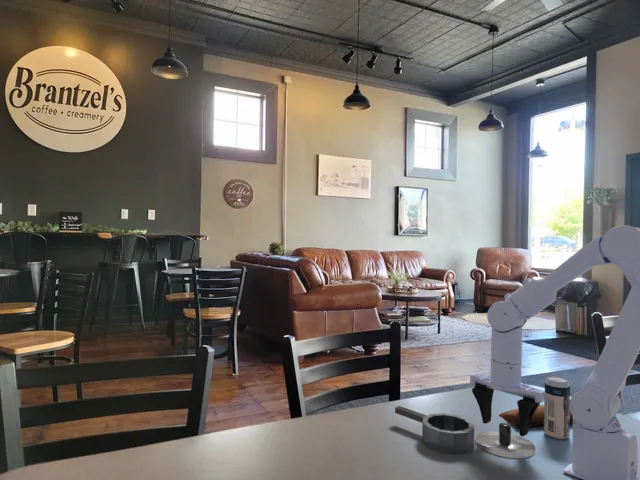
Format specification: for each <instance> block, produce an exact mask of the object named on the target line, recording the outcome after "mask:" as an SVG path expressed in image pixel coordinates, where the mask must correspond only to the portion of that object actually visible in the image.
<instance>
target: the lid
mask: <svg viewBox="0 0 640 480" xmlns="http://www.w3.org/2000/svg"><path fill="white" fill-rule="evenodd" d="M498 425H499V426H498V431H497V430H496V431H494V430H493V431H491V430H490V431H484V432H480V433H477V435H476V436H475V438H474V442H475V444H476V446H478V447H479V449H481V450H483V451H484V452H487V453H489V454H492V455H494V456H498V457H502V458H508V459H527V458H528V459H529V458H531V457H532V456H534V455H535V454H536V452H537V450H536V446H535V444H534V443H533V442H532V441H530V440H528V438H527V439H526V438H525V437H524V436H520V435H517V434H514V433H512V424H510V423H507V422H501V423H500V422H499V424H498Z"/></svg>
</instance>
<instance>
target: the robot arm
mask: <svg viewBox="0 0 640 480" xmlns="http://www.w3.org/2000/svg"><path fill="white" fill-rule="evenodd" d="M610 264H614V265H615V266H616V267H617V268H618V269H620V271H621V272H622V274H623V275H624V277H625V278H626V280H627V281H628V283H629V285H630V287H631V289H630V290H629V292H628V295H627V297H626V299H625V301H624V303H623V306H622V307H621V310H620V311H619V314H618V317H617V319H616V320H615V323H614V326H613V327H612V329H611V332H610V333H609V337H608V338H607V341H606V342H605V345H604V347H603V350H602V351H601V354H600V356H599V358H598V359H597V362H596V365H595V366H594V369H593V370H592V372H591V373H590V375H589V376H588V378H587V379H586V381H585V383H584V385H583V387H582V388H581V389H579V391H577V392H575V393H574V394H572V397H571V396H570V403H569V407H570V411H571V414H572V416H573V423H572V454H571V456H572V458H571V459H572V460H571V461H572V462H571V463H569V464H568V465H567V466H566V467H564V468H563V473H565V474H567V475H570V476H573V477H575V478H578V479H581V480H639V476H638V450H639V449H638V438H637V436H636V435H635V434H634V433H632V432H628V431H626V430H624V429H623V428H621V426H622V425H621V423H620V422H619V418H617V414H619V412H621V410H622V408H623V405H624V404H623V403H624V399H623V391H624V389H625V387H626V383H627V378H628V376H629V374H630V372H631V370H632V368H633V366H634V364H635V362H636V360H637V358H638V355H639V353H640V227H635V226H631V225H618V226H614V227H611V228H610V229H609V230H607V231H606V232H605V233H604V235H600V236H598V237H595V238H593V240H591V241H589V242H588V243H587V244H585V245H584V246H582V247H581V248H580V249H579V250H577V252H575V253H574V254H572V255H571V256H570V257H569V258H568V259H567V260H565V261H564V262H562V263H561V264H560V265H559V266H558V267H556V268H555V269H553V270H552V271H551V272H550V273H549V274H547V275H546V276H545V277H541V276H540V277H539V276H533V277H532V278H531V277H529V278H525V279H523V281H522V282H521V283H522V285H521V286H520V287H519V288H517V289H516V290H515V291H513V292H511V293H506V294H505V295H504V297H503V298H504V301H495V302H493V303H492V305H491V306H489V308H488V310H487V313H486V316H487V322H488V324H489V325H490V327H491V340H490V341H491V343H490V344H491V345H490V375H484V374H481V373H480V374H479V373H472V374H470V379H469V384H470V385H473V386H474V387H473V388H471V392H472V394H473V396H474V398H475V400H476V402H477V405H478V408H479V411H480V416H481V420H482V424H484V425H487V424H488V423H491V421H492V404H493V396H494V391H498V392H502V393H506V394H508V395H513V396H517V397H520V398H521V399H519V400H517V401H516V403H517V409H519V418H520V422H519V427H518V431H519V432H518V433H519V436H521V437H525V436H527V435H528V433H529V430H530V426H529V425H530V422H531V420H532V417H533V415H534V413H535V411H536V409H537V408H538V406H539V405H541V403H543V402H544V401H545V390H542V389H539V388H536V387H533V386H530V385H528V384H525V383H523V382H522V361H523V360H522V359H523V356H522V355H523V354H522V353H523V352H522V351H523V349H522V347H523V327H524V326H525V325H526V323H527V321H528V320H529V319H531V318H533V317H535V315H537V314H539V313H541V311H543V310H544V309H546V308H547V307H549V306H550V305H551V304H553V303H555V302H556V300H557V295H558V294H557V293H558V291H559V290H561V289H562V288H563V287H566V285H568V284H570V283H571V282H573V281H574V280H576V279H578V278H579V277H580V276H582V275H584V274H585V273H586V272H588V271H590V270H592V269H593V268H594V267H599V266H604V265H610Z"/></svg>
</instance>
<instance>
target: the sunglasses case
mask: <svg viewBox="0 0 640 480" xmlns="http://www.w3.org/2000/svg"><path fill="white" fill-rule="evenodd" d="M498 416H499V417H500V418H502V419H503V420H505V421H506V423H507V422H508V424H510V425H511V426H513V427H515V429H518V428H519V422H520V418H519V409H518V408H515V409H511V410H507V411H504V412H501V413H499V414H498ZM571 423H572V424H573V416H572V414H571V411H570V424H571ZM542 425H544V404H542V405H541V404H540V405H539V406H538V408H537V409H536V411H535V413H534V415H533V417H532V420H531V422H530V425H529V427H534V426H542Z"/></svg>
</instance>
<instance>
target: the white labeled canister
mask: <svg viewBox="0 0 640 480" xmlns="http://www.w3.org/2000/svg"><path fill="white" fill-rule="evenodd" d="M544 391H545V401H543V402H544V404H543V405H544V424H543V425H544V426H543V431H544V434H546V435H547V436H548V437H550V438H551V439H552V438H553V439H556V440H566V439H569V437H571V436H570V432H571V431H570V429H571V428H570V427H571V426H570V425H571V423H570V407H569V403H570V399H571V384H570V382H569V380H568V379H566V378H564V377H560V376H548V377H547V378H546V379H545V381H544Z"/></svg>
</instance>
